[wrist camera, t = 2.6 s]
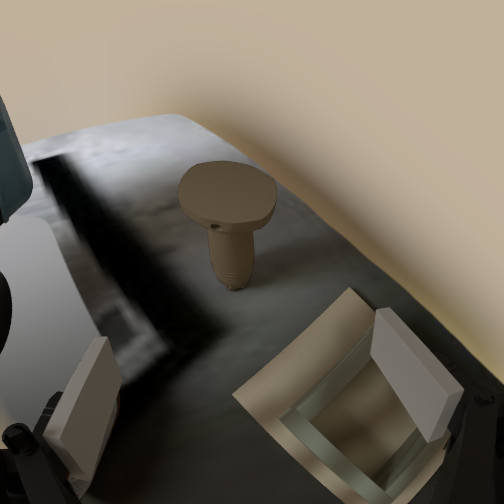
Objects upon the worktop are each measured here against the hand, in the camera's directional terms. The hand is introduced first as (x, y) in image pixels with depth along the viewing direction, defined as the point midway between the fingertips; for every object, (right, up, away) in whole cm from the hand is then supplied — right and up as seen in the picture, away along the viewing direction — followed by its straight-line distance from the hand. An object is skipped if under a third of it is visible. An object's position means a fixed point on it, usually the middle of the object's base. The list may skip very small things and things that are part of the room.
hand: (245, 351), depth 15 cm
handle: (-1, +2, +19) cm, 19 cm away
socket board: (+12, -12, +13) cm, 21 cm away
